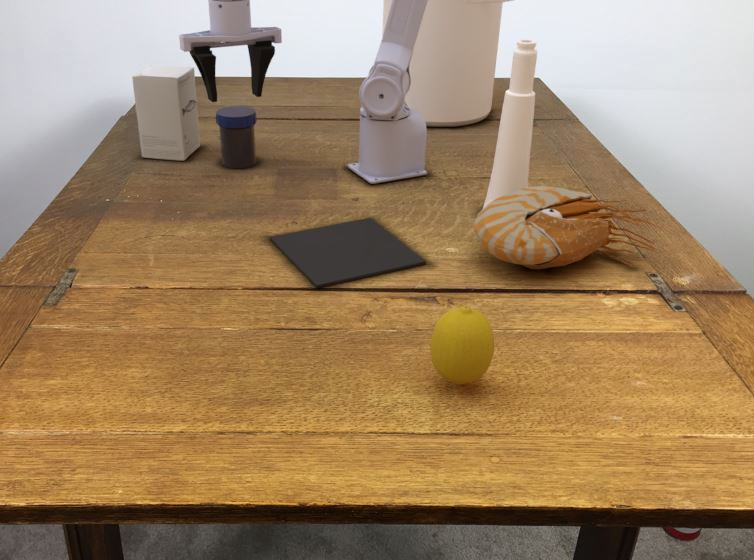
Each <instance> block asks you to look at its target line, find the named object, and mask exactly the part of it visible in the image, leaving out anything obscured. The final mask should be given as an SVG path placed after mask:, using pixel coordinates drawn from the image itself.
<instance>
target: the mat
mask: <svg viewBox="0 0 754 560" xmlns="http://www.w3.org/2000/svg"><path fill="white" fill-rule="evenodd" d="M269 240H270V241H271V242H272V243H273V244H274V245H275V246H276V247H277V249H279V250H280V252H281V253H283V255H284V256H285V257H286V258H287V259H288V260H289V261H290V262H291V263H292V264H293V265H294V266H295V267H296V268H297V269H298V270H299V271H300V272H301V274H302V275H303V276H305V278H306V279H308V280H309V281H310V283H311V284H312V285H313V286H314V287H315V288H316V289H320V288H325V287H329V286H333V285H337V284H342V283H346V282H351V281H356V280H361V279H365V278H370V277H373V276H374V277H375V276H378V275H383V274H388V273H393V272H397V271H401V270H406V269H410V268H415V267H418V266H424V265H427V260H426V259H424V258H423V257H422V256H420V255H419V254H418V253H417V252H415V251H414V250H412V249H411V248H410V247H409V246H407V244H405V243H404V242H402V241H401V240H400V239H398V238H397V237H396V236H394V235H393V233H390V231H388V230H387V229H385V228H384V227H383V226H382V225H380V224H379V223H377V221H375V220H374V219H373V218H371V217H367V218H361V219H357V220H352V221H351V220H350V221H346V222H340V223H335V224H330V225H325V226H320V227H315V228H314V227H313V228H309V229H304V230H298V231H293V232H287V233H283V234H276V235H271V236H269Z"/></svg>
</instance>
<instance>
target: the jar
mask: <svg viewBox="0 0 754 560" xmlns="http://www.w3.org/2000/svg"><path fill="white" fill-rule="evenodd" d="M218 128H219V141H220V153H221V154H220V155H221V164H222V166H223V167H225V168H229V169H247V168H250V167H253V166H255V165H256V163H257V155H256V154H257V153H256V134H255V125H253V126H250V127H247V128H238V129H231V128H224V127H221V126H219V125H218Z"/></svg>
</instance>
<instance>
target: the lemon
mask: <svg viewBox="0 0 754 560" xmlns="http://www.w3.org/2000/svg"><path fill="white" fill-rule="evenodd" d="M429 352H430V353H429V354H430V358H431V363H432V365H433V368H434V369H435V371H436V372H437V374H438V375H439V376H440V377H442V378H443V379H444V380H446V381H448V382H449V383H453V384H454V385H456V386H461V385H465V384H470V383H473V382H475V381H477V380H479V379H480V378H482V377H483V375H485V374H486V372H488V370H489V367H490V366H491V363H492V360H493V357H494V352H495V338H494V330H493V327H492V325H491V322H490V321H489V319H488V318H487V317H486V315H485V314H483V313H482V312H480V311H479V310H477V309H475V308H472V307H470V306H468V305H463V306H460V307H455V308H452V309H450V310H448V311H446V312H445V313H443V314H442V315H441V316H440V317H439V319H438V320H437V322H436V324H435V326H434V328H433V331H432V334H431V339H430V345H429Z"/></svg>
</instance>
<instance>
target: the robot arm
mask: <svg viewBox="0 0 754 560" xmlns="http://www.w3.org/2000/svg"><path fill="white" fill-rule="evenodd" d="M207 1H208V15H209V28H210V29H209V30H201V31H197V32H191V33H181V34H178V37H179V38H178V39H179V49H180V50H181V51H183V52H185V53H187V52H189V54H190V57H191V58H192V60H193V61H194V63H195V65H196V67H197V70H198V72H199V74H200V77H201V78H202V82H203V84H204V87H205V91H206V93H207V99H208V100H209V101H210V102H211V103H217V102H218V90H217V81H216V63H217V56H216V55H215V54H213V50H211V49H216V48H217V49H219V48H228V47H238V46H240V47H241V46H247V50H248V58H249V64H250V75H251V77H250V79H251V81H250V82H251V85H250V86H251V92H252V95H254V96H255V97H256V98H260V97H262V96H263V95H262V94H263V89H264V84H265V79H266V77H267V72H268V69H269V67H270V65H271V62H272V60H273V58H274V56H275V53H276V47H275V46H274V45H273V44H282V43H283V41H282V28H279V27H277V26H266V27H265V26H264V27H261V26H259V27H257V26H256V27H252V16H251V14H252V13H251V0H207ZM427 2H428V0H392V4H391V8H390V11H389V15H388V19H387V23H386V26H385V30H384V34H383V37H381V42H380V44H379V47H378V51H377V53H376V56H375V59H374V62H373V65H372V66H371V68H370V69H369V71H368V75H367V76H366V78H365V79H363V81H362V83H361V85H360V87H359V91H358V98H359V104H360V105H361V106H360V108H359V136H358V162H354V163H349V164H347V168H348V169H350V170H351V171H352V172H354V173H355V174H357V175H358V176H359V177H360V178H362V179H363V180H365V181H366V182H367V183H369V184H371V185H372V184H374V185H375V184H380V183H387V182H391V181H398V180H403V179H410V178H415V177H421V176H427V174H428V171H427V170H425V165H426V164H425V163H426V153H427V152H426V150H427V137H428V132H427V131H428V130H427V126H426V123H425V119H424V117H423V115H422V114H421V113H420V112H419V111H418V110H416V109H410V108H409V107H408V105H407V103H406V101H405V96H406V93H407V92H408V90H409V88H410V84H411V76H410V71H409V66H410V61H411V58H412V54H413V50H414V46H415V42H416V39H417V36H418V32H419V29H420V25H421V22H422V19H423V15H424V12H425V8H426V5H427Z"/></svg>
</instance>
